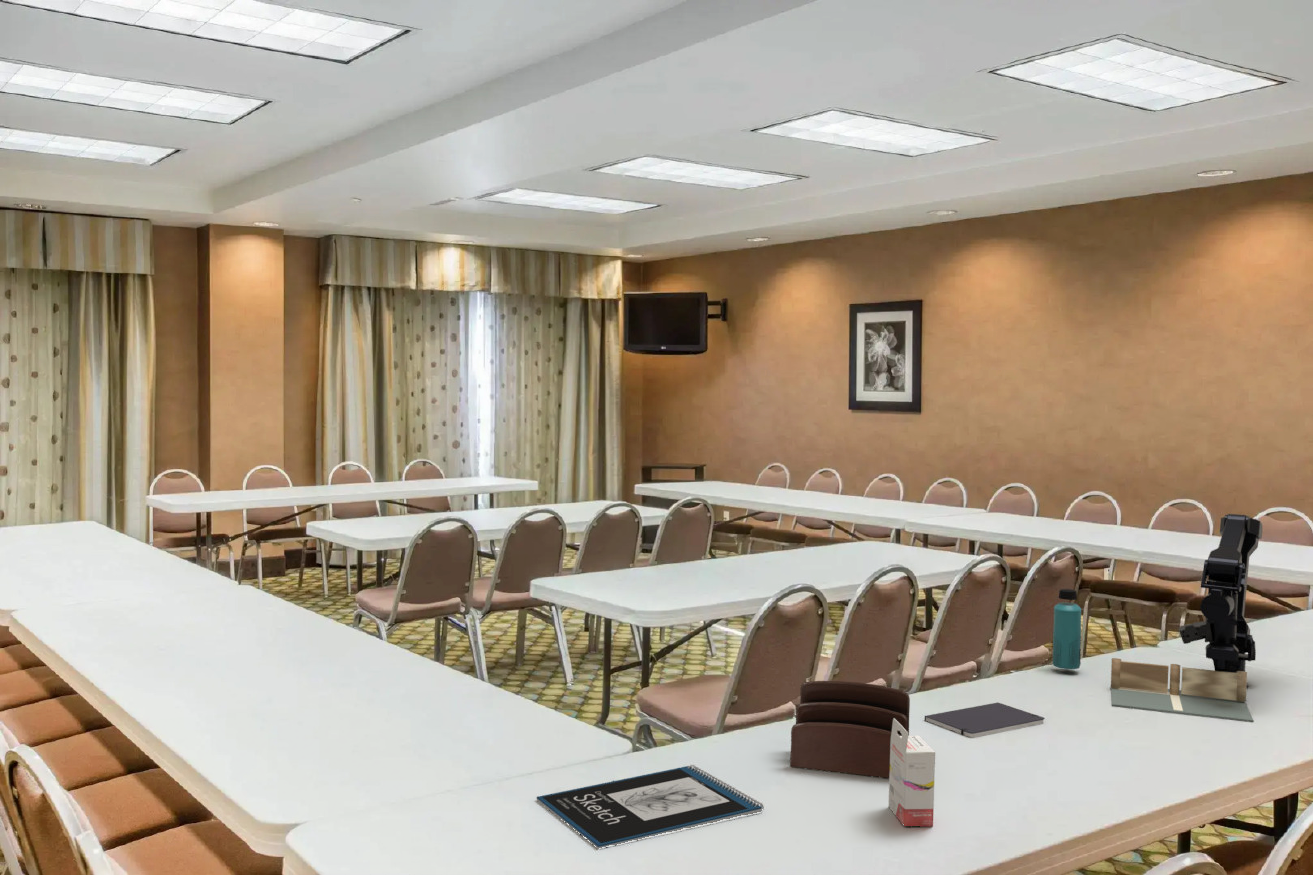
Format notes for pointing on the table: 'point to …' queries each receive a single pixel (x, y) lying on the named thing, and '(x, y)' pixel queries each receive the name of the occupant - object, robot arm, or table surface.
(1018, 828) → the table surface
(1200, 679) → the hinged panel
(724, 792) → the sketchbook
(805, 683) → the letter holder
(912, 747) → the ink cartridge box
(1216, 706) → the board
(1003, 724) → the notebook
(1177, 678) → the fixed fence
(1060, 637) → the beverage bottle
